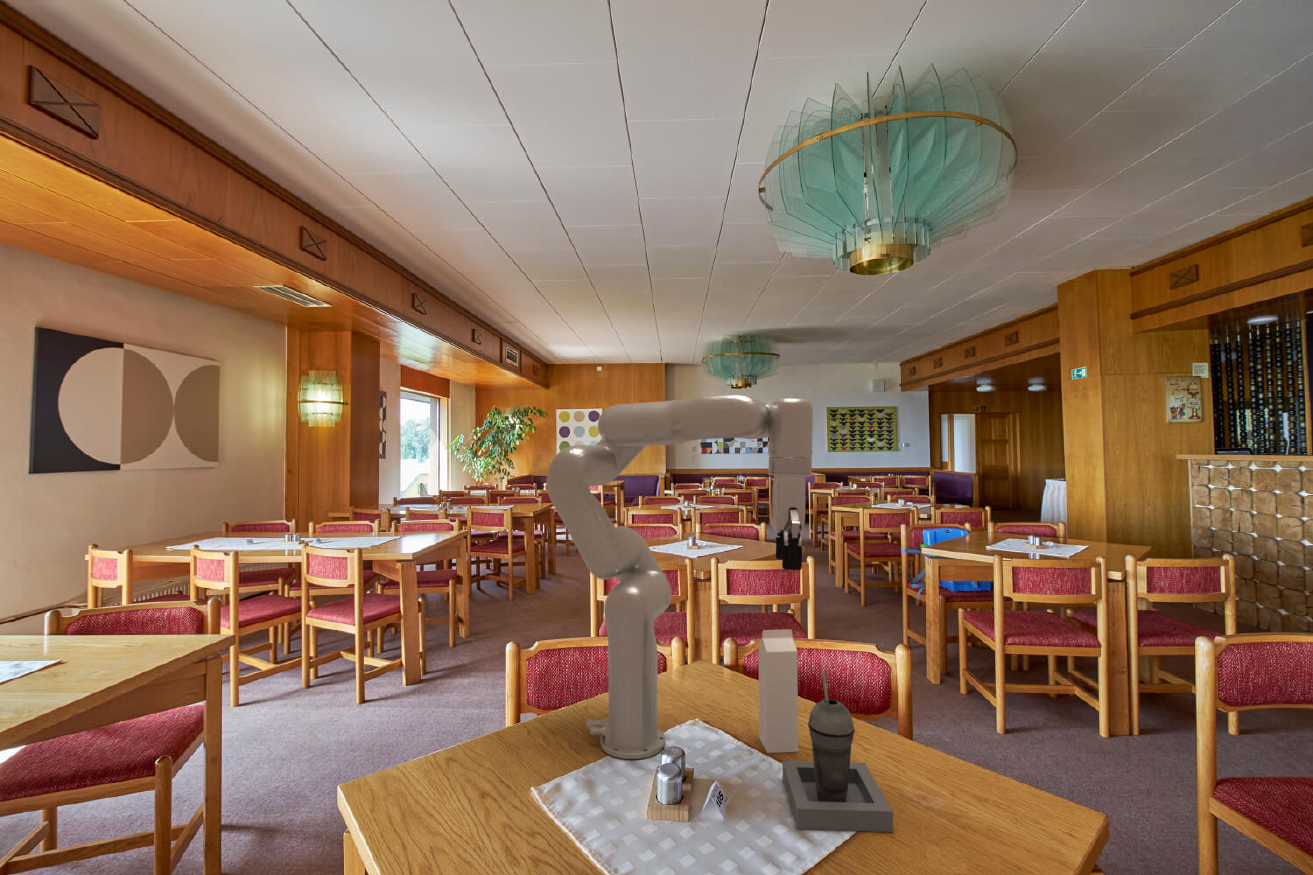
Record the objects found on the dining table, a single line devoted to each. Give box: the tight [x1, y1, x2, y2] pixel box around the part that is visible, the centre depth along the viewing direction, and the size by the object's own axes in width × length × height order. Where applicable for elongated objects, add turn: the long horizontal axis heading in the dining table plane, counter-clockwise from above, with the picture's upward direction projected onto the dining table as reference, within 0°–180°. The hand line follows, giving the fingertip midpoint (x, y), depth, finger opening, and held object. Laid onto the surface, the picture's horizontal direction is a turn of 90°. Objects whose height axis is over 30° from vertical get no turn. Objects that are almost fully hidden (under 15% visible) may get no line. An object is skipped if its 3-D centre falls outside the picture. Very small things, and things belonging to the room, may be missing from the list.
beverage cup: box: [807, 671, 856, 802], centre depth 96 cm, size 7×7×20 cm
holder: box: [782, 760, 894, 833], centre depth 96 cm, size 14×14×3 cm
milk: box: [758, 629, 799, 754], centre depth 115 cm, size 6×6×22 cm
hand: (788, 563), depth 106 cm, fingers open, 9 cm apart
